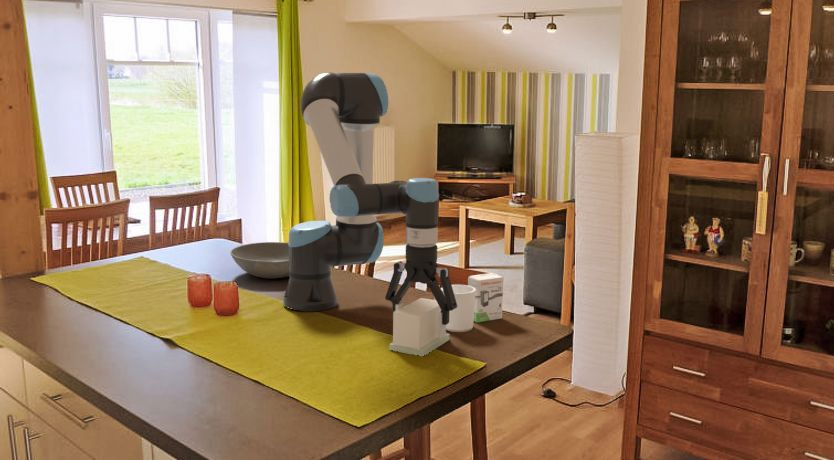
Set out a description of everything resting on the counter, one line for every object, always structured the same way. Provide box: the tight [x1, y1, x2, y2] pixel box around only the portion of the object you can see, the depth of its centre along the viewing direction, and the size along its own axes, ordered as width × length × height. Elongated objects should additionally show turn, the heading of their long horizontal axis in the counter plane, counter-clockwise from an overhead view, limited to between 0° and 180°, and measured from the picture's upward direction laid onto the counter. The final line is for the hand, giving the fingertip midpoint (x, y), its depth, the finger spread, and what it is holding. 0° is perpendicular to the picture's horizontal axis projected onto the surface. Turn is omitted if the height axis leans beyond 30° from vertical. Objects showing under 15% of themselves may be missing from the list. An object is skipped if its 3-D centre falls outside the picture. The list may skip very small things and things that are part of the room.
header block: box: [389, 332, 450, 357], centre depth 190 cm, size 9×14×6 cm, turn 152°
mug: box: [433, 284, 476, 333], centre depth 204 cm, size 11×9×10 cm
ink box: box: [467, 272, 505, 323], centre depth 212 cm, size 9×5×12 cm, turn 121°
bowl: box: [230, 241, 289, 280], centre depth 255 cm, size 27×28×8 cm
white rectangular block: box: [392, 297, 441, 349], centre depth 189 cm, size 14×7×8 cm, turn 152°
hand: (420, 333), depth 190 cm, fingers open, 11 cm apart
